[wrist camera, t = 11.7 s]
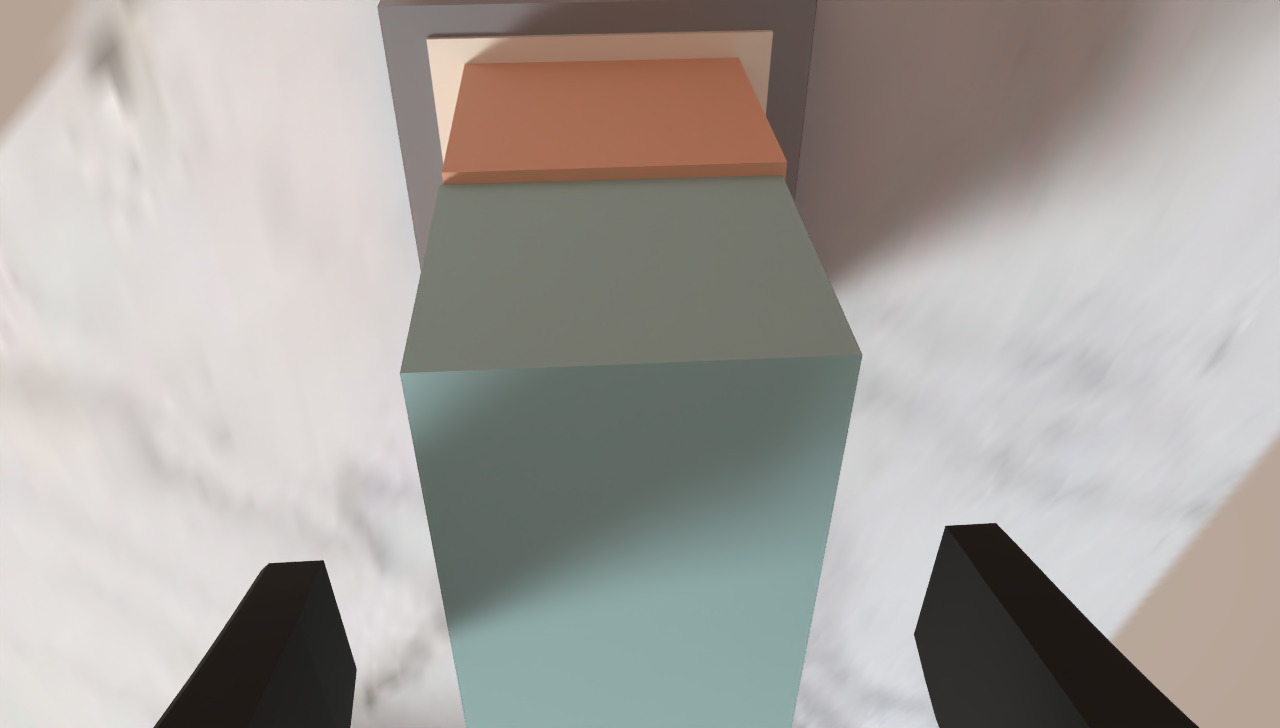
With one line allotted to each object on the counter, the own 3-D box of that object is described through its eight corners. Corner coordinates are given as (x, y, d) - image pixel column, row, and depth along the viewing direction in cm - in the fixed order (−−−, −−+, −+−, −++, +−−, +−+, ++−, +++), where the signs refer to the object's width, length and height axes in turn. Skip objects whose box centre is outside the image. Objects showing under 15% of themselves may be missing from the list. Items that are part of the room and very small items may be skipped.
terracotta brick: (716, 387, 20) (748, 528, 16) (501, 397, 19) (492, 542, 16) (738, 57, 15) (787, 162, 12) (464, 64, 15) (441, 172, 12)
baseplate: (761, 391, 21) (769, 423, 20) (451, 405, 21) (447, 439, 20) (804, -20, 16) (819, -1, 15) (386, -12, 15) (376, 7, 14)
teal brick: (742, 535, 17) (788, 744, 13) (488, 548, 16) (473, 765, 13) (782, 174, 12) (861, 353, 9) (439, 184, 12) (400, 372, 9)
